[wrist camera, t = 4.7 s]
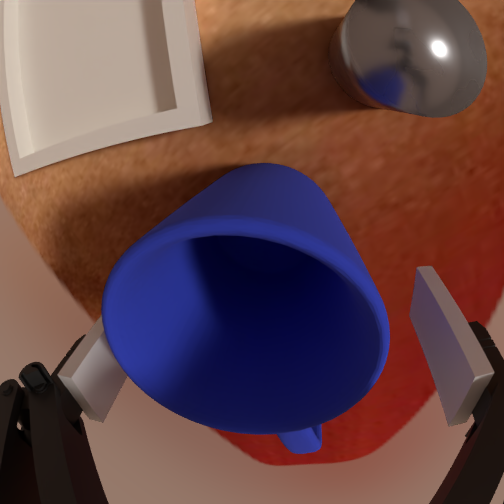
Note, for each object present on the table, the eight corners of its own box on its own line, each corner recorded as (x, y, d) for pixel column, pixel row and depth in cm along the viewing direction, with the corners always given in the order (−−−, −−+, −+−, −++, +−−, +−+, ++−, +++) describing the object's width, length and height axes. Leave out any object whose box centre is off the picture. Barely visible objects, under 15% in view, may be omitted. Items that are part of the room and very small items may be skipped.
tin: (321, 14, 12) (336, -30, 6) (417, 19, 11) (473, -10, 5) (334, 109, 14) (359, 116, 8) (428, 109, 13) (491, 122, 8)
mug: (249, 342, 21) (223, 475, 12) (170, 177, 16) (51, 272, 8) (369, 315, 19) (398, 455, 10) (318, 123, 14) (358, 167, 5)
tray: (17, -34, 9) (0, -37, 8) (179, -116, 7) (168, -131, 5) (34, 168, 17) (14, 177, 15) (212, 121, 15) (201, 125, 13)
